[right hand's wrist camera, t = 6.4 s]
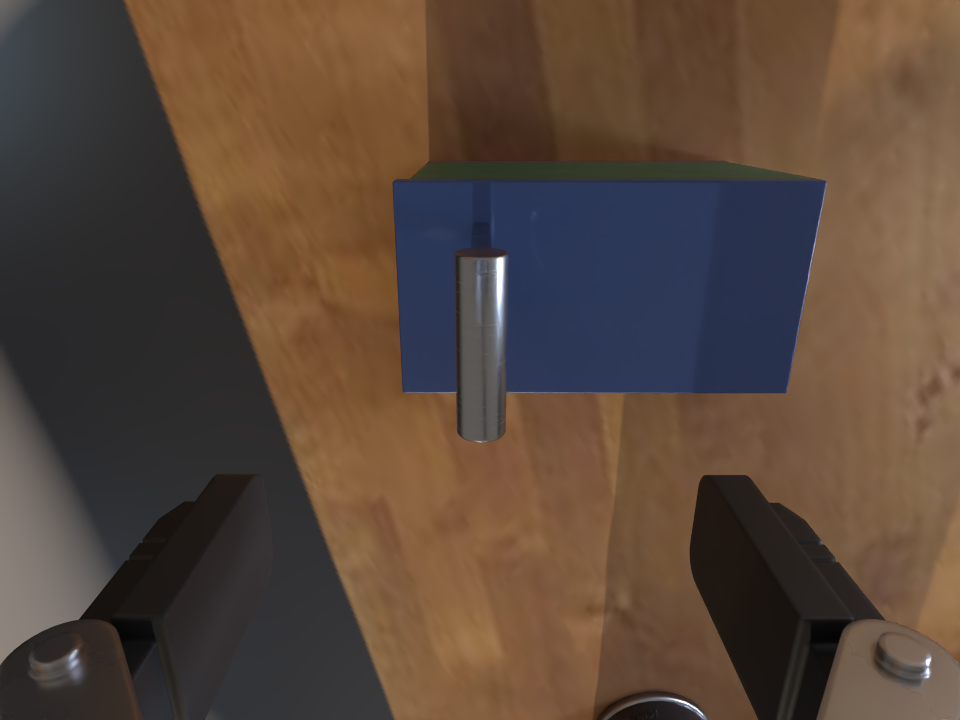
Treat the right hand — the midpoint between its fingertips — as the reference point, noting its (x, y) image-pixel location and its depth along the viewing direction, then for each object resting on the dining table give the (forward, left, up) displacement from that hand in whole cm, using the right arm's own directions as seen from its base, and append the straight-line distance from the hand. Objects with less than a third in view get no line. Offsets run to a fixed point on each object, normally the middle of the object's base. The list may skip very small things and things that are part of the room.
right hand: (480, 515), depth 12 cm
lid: (-3, -4, -16) cm, 17 cm away
